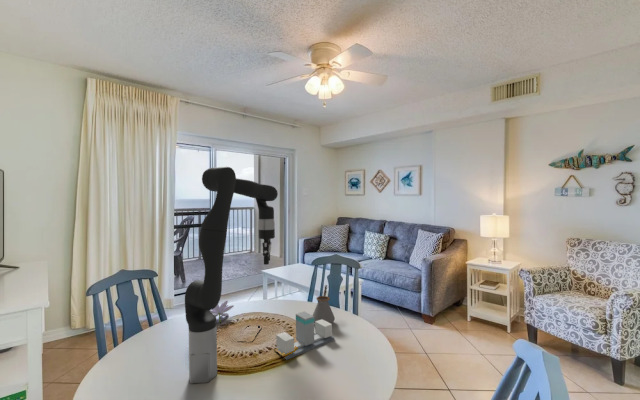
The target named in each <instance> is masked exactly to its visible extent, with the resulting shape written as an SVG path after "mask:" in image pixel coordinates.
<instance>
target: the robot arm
mask: <svg viewBox="0 0 640 400" xmlns="http://www.w3.org/2000/svg"><path fill="white" fill-rule="evenodd" d="M201 183H202V185H203V187H204V188H205V189H206V190H208V191H211V192H215V193H216V196H215V200H214V203H213V205H212V207H211V209H210V210H209V211H208V213H207V214H206V216H205V217H204V219H203V221H202V223H201V225H200V230H199V237H198V248H199V251H200V255H201V258H202V260H203V264H204V277H203V280H199V279H198V280H194V281H191V282H190V283H189V284H188V286H187V288H186V289H185V293H184V310H185V321H186V324H187V325H188V371H189V373H188V375H189V376H188V377H189V381H190V382H189V383H190V384H201V383H204V384H205V383H210V381H211V380H212V379H214V378H215V377H216V376H217V375H218V350H217V349H218V345H217V343H218V341H217V340H218V334H217V331H218V329H217V327H218V326H217V324H218V323H217V320H218V319H217V316H216V317H215V315H213V314H212V313H211V312H210V310H212V309H214V308H215V307H216V306H217V305H219V303H220V300H221V296H222V290H223V289H222V287H223V285H222V284H223V266H224V265H223V264H224V254H225V249H226V242H227V235H228V225H229V219H230V217H229V216H230V211H231V206H232V201H233V197H234V194H237V195H241V196H245V197H249V198H253V199H255V201H256V205H257V209H258V239H260V240H263V242H262V244H261V245H262V256H263V265H264V266H265V265H270V264H269V263H270V261H271V250H272V241H271V239H275V237H276V236H275V235H276V231H275V230H276V229H275V228H276V227H275V225H276V224H275V209H274V207H273V206H271V205H268V204H267V202H273V201H275V200H277V197H278V190H277V189H276V187H275V186H272V185H270V184H269V185H268V184H262V183H258V182H257V181H252V180H249V179H242V178H237V176H236V173H235V170H234V169H233V168H232V167H229V166H219V167H215V166H214V167H209V168H207V169H206V170H204V172H203V173H202V175H201Z"/></svg>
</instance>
